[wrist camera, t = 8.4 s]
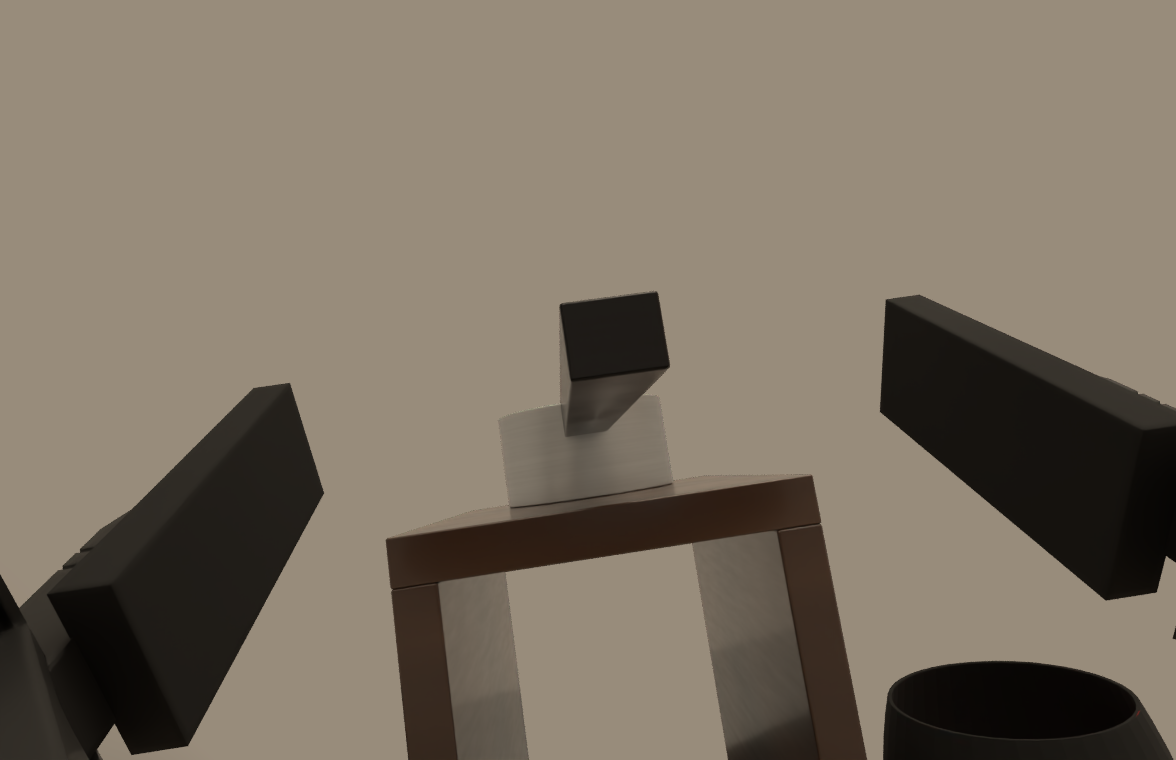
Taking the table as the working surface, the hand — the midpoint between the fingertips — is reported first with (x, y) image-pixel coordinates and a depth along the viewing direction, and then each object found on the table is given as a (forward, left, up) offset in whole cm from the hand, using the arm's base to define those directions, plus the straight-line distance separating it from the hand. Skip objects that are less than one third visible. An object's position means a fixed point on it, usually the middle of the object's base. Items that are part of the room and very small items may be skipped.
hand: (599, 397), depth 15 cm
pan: (0, +11, -3) cm, 12 cm away
